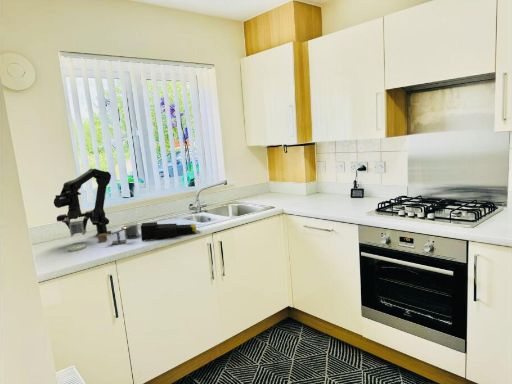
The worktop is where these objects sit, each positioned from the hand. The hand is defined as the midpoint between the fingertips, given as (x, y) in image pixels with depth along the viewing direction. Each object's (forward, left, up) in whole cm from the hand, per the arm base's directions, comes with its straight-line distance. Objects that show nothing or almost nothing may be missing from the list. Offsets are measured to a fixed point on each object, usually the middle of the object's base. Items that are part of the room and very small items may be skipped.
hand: (78, 230), depth 209 cm
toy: (+13, +50, -8) cm, 53 cm away
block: (+4, +13, -7) cm, 15 cm away
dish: (+13, +1, -7) cm, 15 cm away
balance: (+14, +23, -7) cm, 28 cm away
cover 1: (0, 0, -2) cm, 2 cm away
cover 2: (+3, +29, -7) cm, 30 cm away
